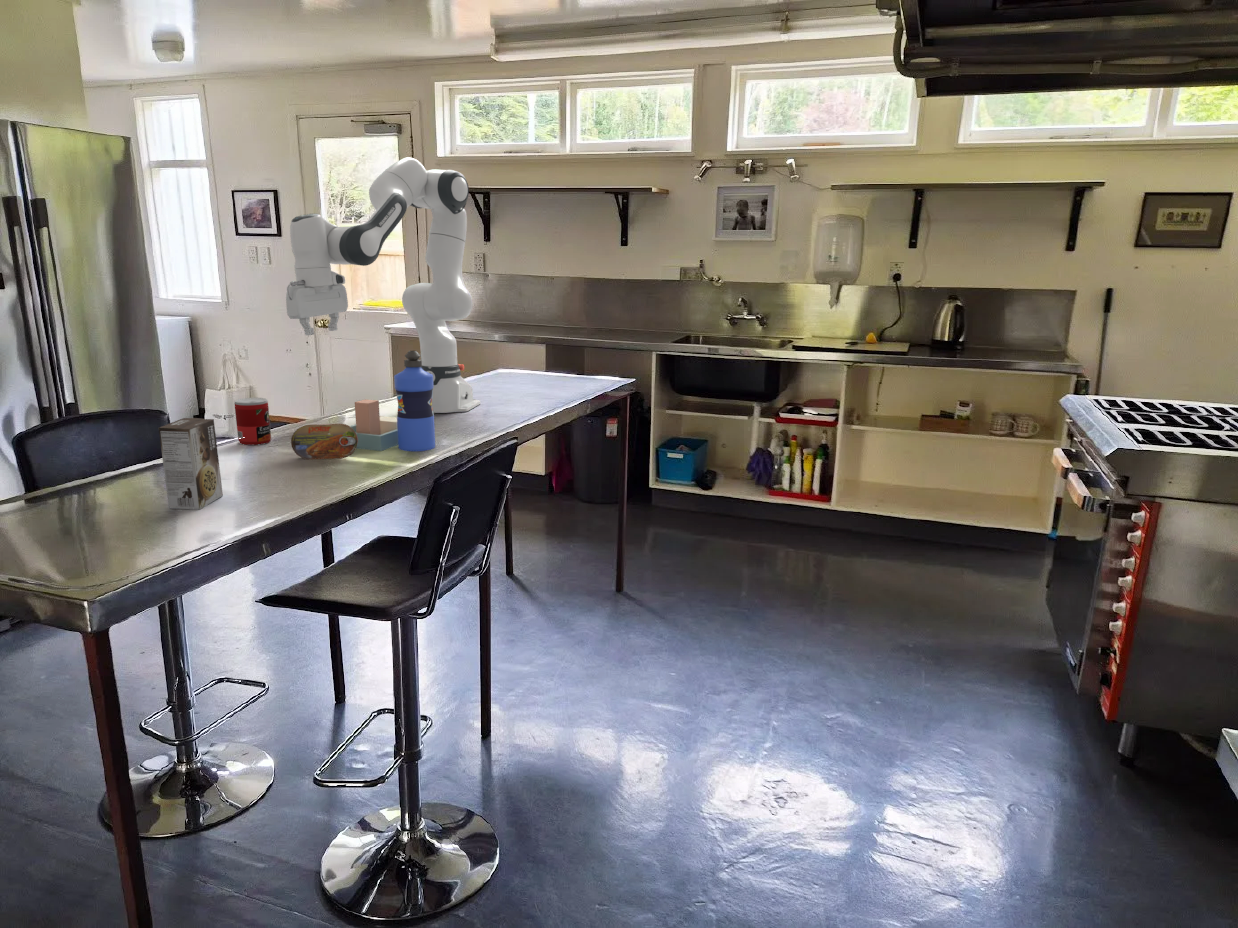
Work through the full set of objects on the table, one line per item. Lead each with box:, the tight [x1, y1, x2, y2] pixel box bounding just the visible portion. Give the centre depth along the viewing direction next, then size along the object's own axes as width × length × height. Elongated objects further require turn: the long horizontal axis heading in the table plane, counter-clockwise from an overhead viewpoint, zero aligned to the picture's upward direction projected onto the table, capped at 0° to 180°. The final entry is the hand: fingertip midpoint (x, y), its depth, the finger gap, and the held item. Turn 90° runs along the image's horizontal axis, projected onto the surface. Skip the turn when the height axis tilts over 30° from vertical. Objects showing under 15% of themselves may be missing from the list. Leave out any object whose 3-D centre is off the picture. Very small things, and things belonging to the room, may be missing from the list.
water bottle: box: [393, 350, 436, 452], centre depth 201 cm, size 9×9×25 cm
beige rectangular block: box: [380, 415, 398, 434], centre depth 212 cm, size 5×9×5 cm, turn 71°
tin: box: [290, 423, 358, 461], centre depth 194 cm, size 15×3×8 cm, turn 102°
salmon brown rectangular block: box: [354, 398, 381, 435], centre depth 204 cm, size 4×4×11 cm
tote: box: [349, 423, 398, 452], centre depth 209 cm, size 18×14×4 cm
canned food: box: [233, 397, 272, 446], centre depth 207 cm, size 8×8×11 cm
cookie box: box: [157, 417, 224, 510], centre depth 157 cm, size 9×6×16 cm
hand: (321, 332), depth 213 cm, fingers open, 8 cm apart
